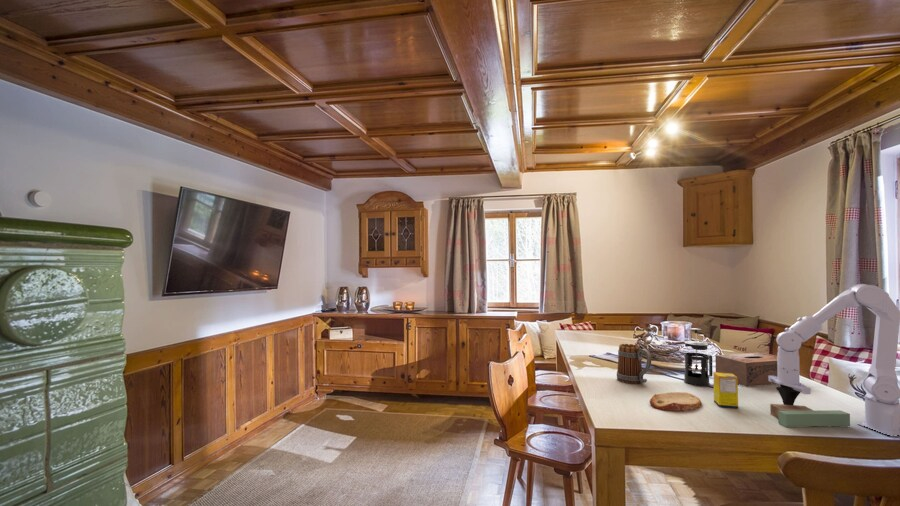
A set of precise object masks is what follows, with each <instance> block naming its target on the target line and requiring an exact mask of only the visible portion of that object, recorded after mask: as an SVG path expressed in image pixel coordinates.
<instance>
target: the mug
mask: <svg viewBox="0 0 900 506" xmlns="http://www.w3.org/2000/svg"><path fill="white" fill-rule="evenodd" d="M642 353H644V354H645V357H646V364H645V367H644V369H643V365H642V360H644V359H643V356H642ZM617 355H618V356H617V358H618V359H617V371H616V379H617V380H618V381H619V382H621V383H624V384H632V385H633V384H634V385H638V384H644V383H647V381H648V378H644V375H646V374H647V372H649V370H651V369H650V368H651V366H652V355H651V353H650V351H649V350H648V349H646V348H641V347H640V345H637V344H633V343H630V344H629V343H620V344H619V346H618V351H617Z"/></svg>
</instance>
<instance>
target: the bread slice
mask: <svg viewBox="0 0 900 506" xmlns="http://www.w3.org/2000/svg"><path fill="white" fill-rule="evenodd" d="M649 404H650V406H651V407H652V409H655V410H659V411H663V412H667V411H668V412H676V413H678V412H679V413H680V412H690V411H695V410H696V409H697V410H698V409H699V408H701V407H702V401H701V398H699V397H698V396H696V395H694V394H691V393H688V392H682V391H681V392H680V391H679V392H675V391H674V392H664V393H654V395H653V396H651V398H650V399H649Z"/></svg>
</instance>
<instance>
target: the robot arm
mask: <svg viewBox="0 0 900 506" xmlns="http://www.w3.org/2000/svg"><path fill="white" fill-rule="evenodd" d="M860 305H861V306H863V307H866V309H867V310H869V311H871V312H872V314H874V315H875V325H874V334H873V335H874V336H873V346H872V356H871V357H872V358H871V366H870V367H869V368H868V372H867V375H866V377H864V378H863V381H862V385H863V387H864V389H865V390H866V391H867V393H866V394H865V395H864V410H865V411H864V413H865V417H864V418H865V422H864V421H863V422H856V424H857V425H858V424H859V426H861V427H864V426H865V427H864V428H866V427H868V428H867V429H869V428H871V429H873V430H872V431H874V430H876V431H875V432H877V431H878V432H877V433H879V432H881V433H880V434H882V433H884V434H887V435H899V436H898V437H900V387H899V385H898V382H899V379H898V375H897V373H896V365H897V357H898V346H899V335H900V309H899V308H898V306H897V305H896V303H895V302H894V301H893V299H892V298H891V297H890V294H889V293H888V292H887V291H885V290H884V289H882V288H880V287H879V286H877V285H874V284H866V283H857V284H854V285H852V286H851V287H849V289H846V290H844V291H842V292H841V293H840V294H838V295H837V296H835V297H834V298H833V299H832V300H831V301H830V302H828V303H827V304H825V306H823V307H822V308H821V309H820V310H818V311H817V312H816V313H814V314H813V315H811V316H810V315H809V316H808V315H807V316H806V315H805V316H803V317H801V316H799V317H798V318H797V319H796V322H795V323H794V324H792V325H791V326H790V327H785V328H784V331H782V332H780V333H778V334H777V336H776V338H775V341H776V344H777V345H778V347H777V353H776V354H777V355H776V356H777V375H778V377H776V376H768V380H769V381H770V382H774V383H777V384H776V385H779V386H776V390H777V392H778V394H779V395H780V398H781V400H782V404H783V405H795V402H796V399H797V397H798V396H799V395H800V394H803V395H811V387H809V386H807V385H804V384H803V383H801V382H800V381H801V380H800V379H801V378H800V377H801V376H800V355H799V350H800V349H801V347H802V343H805V342H806V341H808V340H810V339H811V338H812V337H813V336H815V335H816V334H817V333H818V334H819V332H820V331H822V329H823V324H824V323H825V322H826V321H828V320H830V319H831V318H832V317H834V316H836V315H837V314H839V313H840V312H842V311H843V310H845V309H848V308H854V307H855V308H856V307H860ZM871 429H870V430H871ZM884 434H883V435H884ZM887 435H886V436H887Z"/></svg>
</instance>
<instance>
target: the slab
mask: <svg viewBox="0 0 900 506" xmlns="http://www.w3.org/2000/svg"><path fill="white" fill-rule="evenodd" d="M769 405H770V407H769V408H770V411H769V412H770V416H772V417H774V418H776V419H777V420H778V411H815V410H814V409H812V408H810V407H808V406H806V405H798V404H797V405H795V404H794V405H784V404H783V403H782V404H780V403H769Z"/></svg>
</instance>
